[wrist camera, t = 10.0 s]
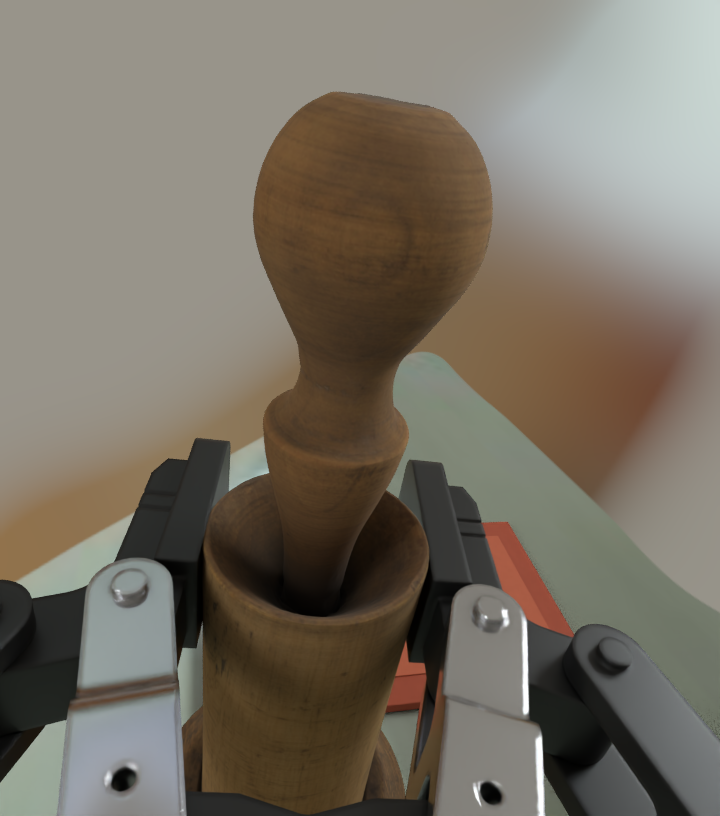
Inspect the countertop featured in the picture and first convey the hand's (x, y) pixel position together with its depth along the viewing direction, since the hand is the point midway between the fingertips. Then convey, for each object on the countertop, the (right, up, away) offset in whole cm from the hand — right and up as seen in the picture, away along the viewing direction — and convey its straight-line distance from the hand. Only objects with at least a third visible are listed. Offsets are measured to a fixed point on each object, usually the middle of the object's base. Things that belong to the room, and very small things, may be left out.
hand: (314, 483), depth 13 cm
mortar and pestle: (-1, -10, +3) cm, 11 cm away
